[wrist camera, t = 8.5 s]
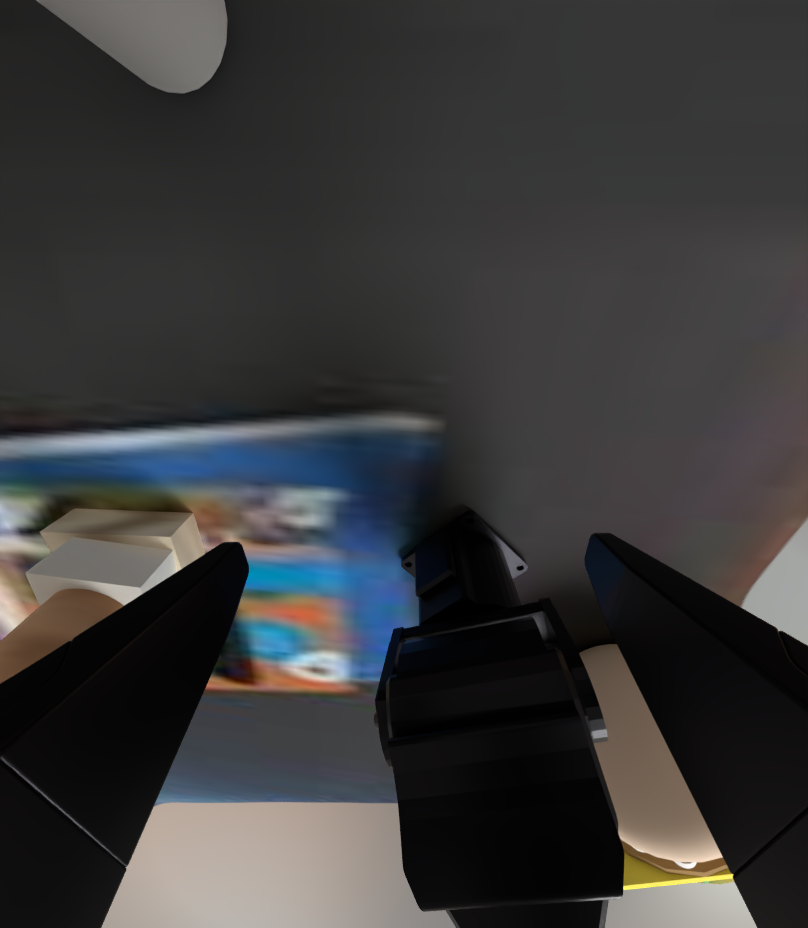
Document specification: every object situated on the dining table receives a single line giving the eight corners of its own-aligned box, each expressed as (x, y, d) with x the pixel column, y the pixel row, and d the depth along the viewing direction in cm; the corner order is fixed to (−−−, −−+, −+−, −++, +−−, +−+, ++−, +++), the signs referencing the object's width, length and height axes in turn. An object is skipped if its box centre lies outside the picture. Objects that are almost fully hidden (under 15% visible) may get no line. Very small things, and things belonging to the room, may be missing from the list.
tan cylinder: (155, 622, 20) (84, 716, 16) (115, 657, 22) (41, 751, 18) (70, 574, 19) (-34, 664, 14) (33, 616, 20) (-71, 709, 16)
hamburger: (669, 609, 27) (838, 824, 16) (680, 670, 30) (826, 881, 20) (517, 649, 29) (576, 858, 19) (543, 701, 33) (605, 903, 22)
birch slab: (197, 508, 24) (170, 537, 21) (221, 592, 28) (201, 625, 25) (80, 504, 24) (39, 531, 21) (120, 588, 28) (89, 621, 25)
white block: (173, 550, 22) (140, 587, 19) (185, 615, 25) (157, 656, 22) (72, 536, 21) (25, 572, 19) (96, 604, 24) (57, 644, 22)
